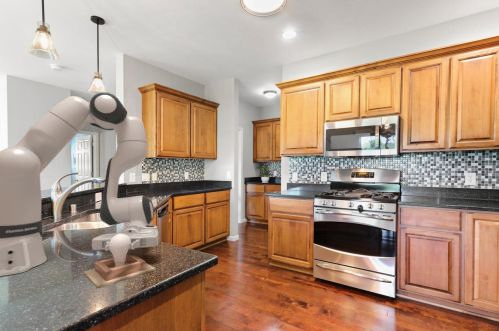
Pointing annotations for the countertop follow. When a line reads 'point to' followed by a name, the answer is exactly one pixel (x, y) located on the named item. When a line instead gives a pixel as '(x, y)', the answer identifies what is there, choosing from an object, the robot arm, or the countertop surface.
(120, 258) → the lightbulb
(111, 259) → the socket block
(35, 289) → the countertop surface
